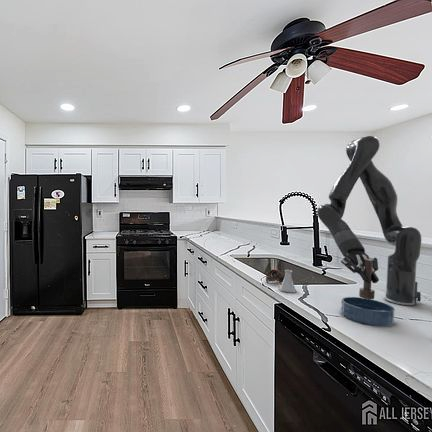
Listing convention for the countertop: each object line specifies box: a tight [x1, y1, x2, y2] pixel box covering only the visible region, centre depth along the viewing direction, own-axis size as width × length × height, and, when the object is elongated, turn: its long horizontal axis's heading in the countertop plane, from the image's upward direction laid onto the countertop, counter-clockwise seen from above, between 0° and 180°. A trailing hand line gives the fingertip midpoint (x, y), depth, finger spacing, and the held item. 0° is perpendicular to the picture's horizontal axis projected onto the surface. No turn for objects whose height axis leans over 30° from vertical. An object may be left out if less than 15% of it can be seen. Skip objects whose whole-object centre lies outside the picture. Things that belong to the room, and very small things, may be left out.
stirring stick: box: [358, 259, 376, 300], centre depth 103 cm, size 4×4×14 cm
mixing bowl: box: [340, 296, 395, 327], centre depth 104 cm, size 15×15×6 cm
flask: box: [279, 269, 297, 293], centre depth 136 cm, size 7×7×10 cm
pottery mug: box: [265, 268, 285, 283], centre depth 150 cm, size 12×10×8 cm
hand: (372, 281), depth 101 cm, fingers closed on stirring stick, 2 cm apart
